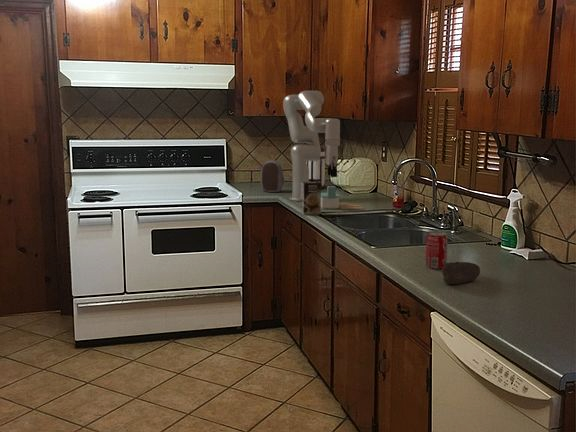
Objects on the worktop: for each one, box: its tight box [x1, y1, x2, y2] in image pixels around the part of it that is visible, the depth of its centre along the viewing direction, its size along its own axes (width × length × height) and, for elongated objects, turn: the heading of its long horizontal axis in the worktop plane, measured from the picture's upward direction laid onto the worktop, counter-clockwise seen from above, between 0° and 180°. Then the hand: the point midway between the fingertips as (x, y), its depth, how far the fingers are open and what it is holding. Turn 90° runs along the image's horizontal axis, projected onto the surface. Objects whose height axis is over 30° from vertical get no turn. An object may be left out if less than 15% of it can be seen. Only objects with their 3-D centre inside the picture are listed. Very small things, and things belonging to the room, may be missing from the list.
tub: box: [321, 197, 340, 210], centre depth 328 cm, size 12×9×6 cm
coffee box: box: [299, 182, 322, 216], centre depth 307 cm, size 9×6×16 cm
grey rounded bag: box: [260, 159, 285, 193], centre depth 379 cm, size 15×8×20 cm, turn 72°
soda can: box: [425, 231, 448, 270], centre depth 209 cm, size 7×7×12 cm
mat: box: [339, 202, 365, 210], centre depth 329 cm, size 18×12×1 cm, turn 5°
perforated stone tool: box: [442, 261, 481, 285], centre depth 192 cm, size 15×5×7 cm, turn 113°
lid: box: [321, 185, 341, 199], centre depth 325 cm, size 15×10×6 cm, turn 5°
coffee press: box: [305, 145, 326, 190], centre depth 394 cm, size 17×16×30 cm
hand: (332, 175), depth 317 cm, fingers open, 9 cm apart
